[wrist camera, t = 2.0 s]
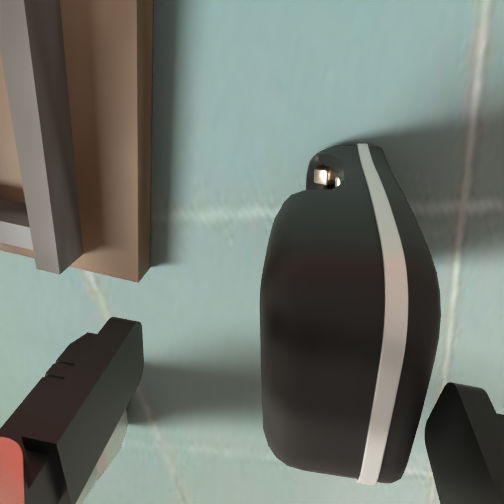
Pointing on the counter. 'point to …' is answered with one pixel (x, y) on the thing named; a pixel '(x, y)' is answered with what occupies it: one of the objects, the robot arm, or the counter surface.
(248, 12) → the counter surface
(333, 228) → the battery charger
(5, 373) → the counter surface
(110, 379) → the robot arm
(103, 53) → the rail block
